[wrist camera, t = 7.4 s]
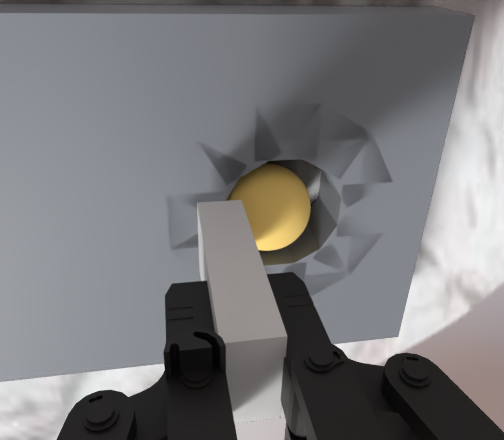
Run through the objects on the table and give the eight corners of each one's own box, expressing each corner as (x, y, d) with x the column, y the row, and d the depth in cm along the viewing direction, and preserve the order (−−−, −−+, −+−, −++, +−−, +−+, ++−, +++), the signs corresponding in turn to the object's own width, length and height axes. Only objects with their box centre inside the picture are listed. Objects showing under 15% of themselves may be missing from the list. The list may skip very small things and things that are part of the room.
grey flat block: (-252, 365, 20) (-300, 416, 18) (-510, -1, 13) (-641, 10, 11) (376, 302, 24) (398, 336, 22) (436, 6, 18) (474, 15, 15)
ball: (217, 261, 18) (309, 267, 17) (219, 171, 16) (317, 176, 16) (227, 231, 21) (304, 235, 21) (229, 154, 20) (311, 158, 20)
